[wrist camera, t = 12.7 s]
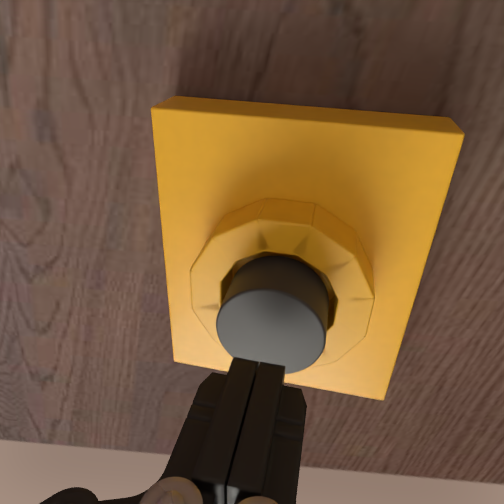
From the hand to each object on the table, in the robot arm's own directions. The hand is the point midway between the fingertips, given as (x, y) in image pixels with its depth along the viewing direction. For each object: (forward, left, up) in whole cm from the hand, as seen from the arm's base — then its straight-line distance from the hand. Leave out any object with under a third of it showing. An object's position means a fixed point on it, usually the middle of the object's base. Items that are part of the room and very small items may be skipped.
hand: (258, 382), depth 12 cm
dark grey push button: (0, 0, -4) cm, 4 cm away
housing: (0, 0, -7) cm, 7 cm away
